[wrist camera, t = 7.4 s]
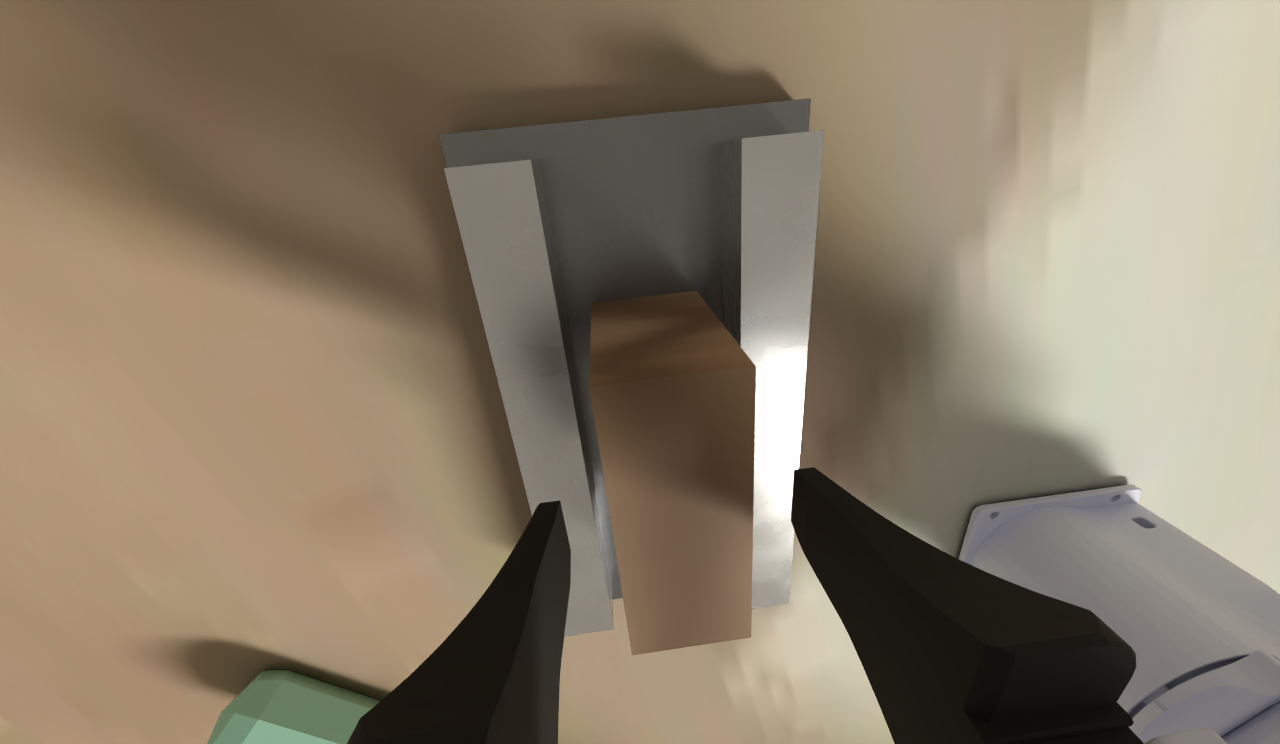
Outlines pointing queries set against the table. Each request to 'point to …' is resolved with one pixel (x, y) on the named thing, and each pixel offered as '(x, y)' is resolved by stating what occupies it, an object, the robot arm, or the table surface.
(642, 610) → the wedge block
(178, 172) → the table surface
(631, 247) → the slot base
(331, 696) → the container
